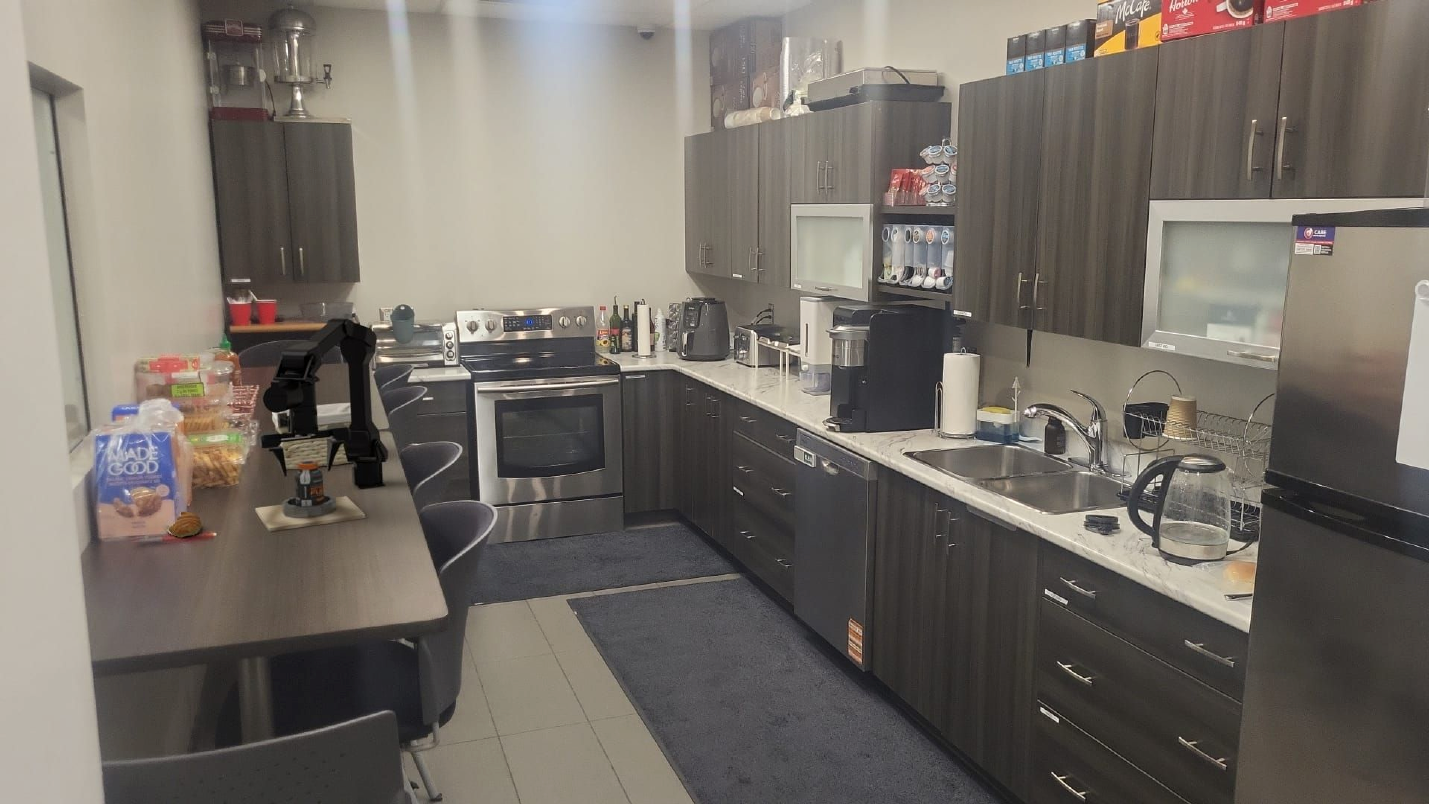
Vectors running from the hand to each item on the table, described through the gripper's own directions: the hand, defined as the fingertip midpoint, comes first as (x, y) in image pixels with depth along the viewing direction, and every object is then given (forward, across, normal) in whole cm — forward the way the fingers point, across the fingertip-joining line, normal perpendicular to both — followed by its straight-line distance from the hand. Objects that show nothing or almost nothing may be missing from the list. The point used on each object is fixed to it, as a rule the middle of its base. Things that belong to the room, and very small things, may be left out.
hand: (307, 473), depth 232 cm
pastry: (+10, +25, -1) cm, 27 cm away
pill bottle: (+9, 0, 0) cm, 9 cm away
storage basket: (+10, -14, -53) cm, 55 cm away
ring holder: (+10, 0, 0) cm, 10 cm away
